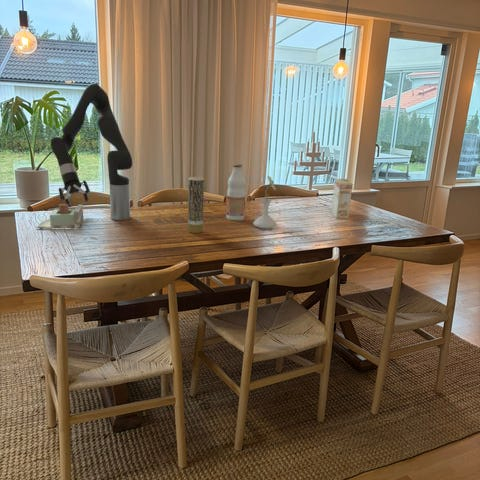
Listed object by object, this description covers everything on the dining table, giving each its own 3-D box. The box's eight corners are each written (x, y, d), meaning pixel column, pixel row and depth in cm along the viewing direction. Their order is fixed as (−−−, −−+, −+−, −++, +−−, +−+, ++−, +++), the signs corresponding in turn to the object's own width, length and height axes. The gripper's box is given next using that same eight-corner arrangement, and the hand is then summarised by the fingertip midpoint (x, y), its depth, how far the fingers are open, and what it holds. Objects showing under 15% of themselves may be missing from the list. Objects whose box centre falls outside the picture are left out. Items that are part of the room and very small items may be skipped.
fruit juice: (233, 221, 232) (236, 166, 223) (222, 217, 238) (224, 163, 230) (247, 219, 237) (250, 165, 229) (236, 215, 244) (238, 162, 236)
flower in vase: (274, 231, 218) (278, 179, 211) (251, 229, 220) (254, 177, 213) (278, 224, 230) (281, 175, 223) (255, 222, 232) (258, 173, 225)
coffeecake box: (348, 219, 247) (353, 183, 241) (335, 218, 247) (339, 183, 241) (343, 212, 261) (347, 178, 255) (330, 212, 261) (334, 178, 256)
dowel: (69, 221, 214) (68, 203, 212) (68, 223, 211) (67, 205, 208) (60, 221, 214) (59, 203, 211) (59, 223, 210) (58, 205, 207)
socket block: (78, 219, 218) (77, 209, 217) (74, 225, 208) (74, 214, 207) (55, 219, 216) (54, 209, 214) (50, 225, 206) (49, 215, 205)
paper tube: (203, 230, 215) (205, 177, 207) (201, 234, 208) (202, 179, 201) (189, 229, 215) (190, 176, 208) (186, 233, 209) (187, 178, 201)
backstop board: (83, 220, 220) (82, 204, 218) (79, 228, 207) (78, 211, 205) (43, 221, 217) (42, 204, 215) (37, 229, 204) (35, 211, 201)
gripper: (85, 172, 235) (94, 201, 233) (57, 180, 233) (66, 210, 231) (81, 167, 227) (90, 197, 225) (52, 176, 226) (61, 206, 223)
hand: (78, 204), depth 228 cm, fingers open, 8 cm apart
